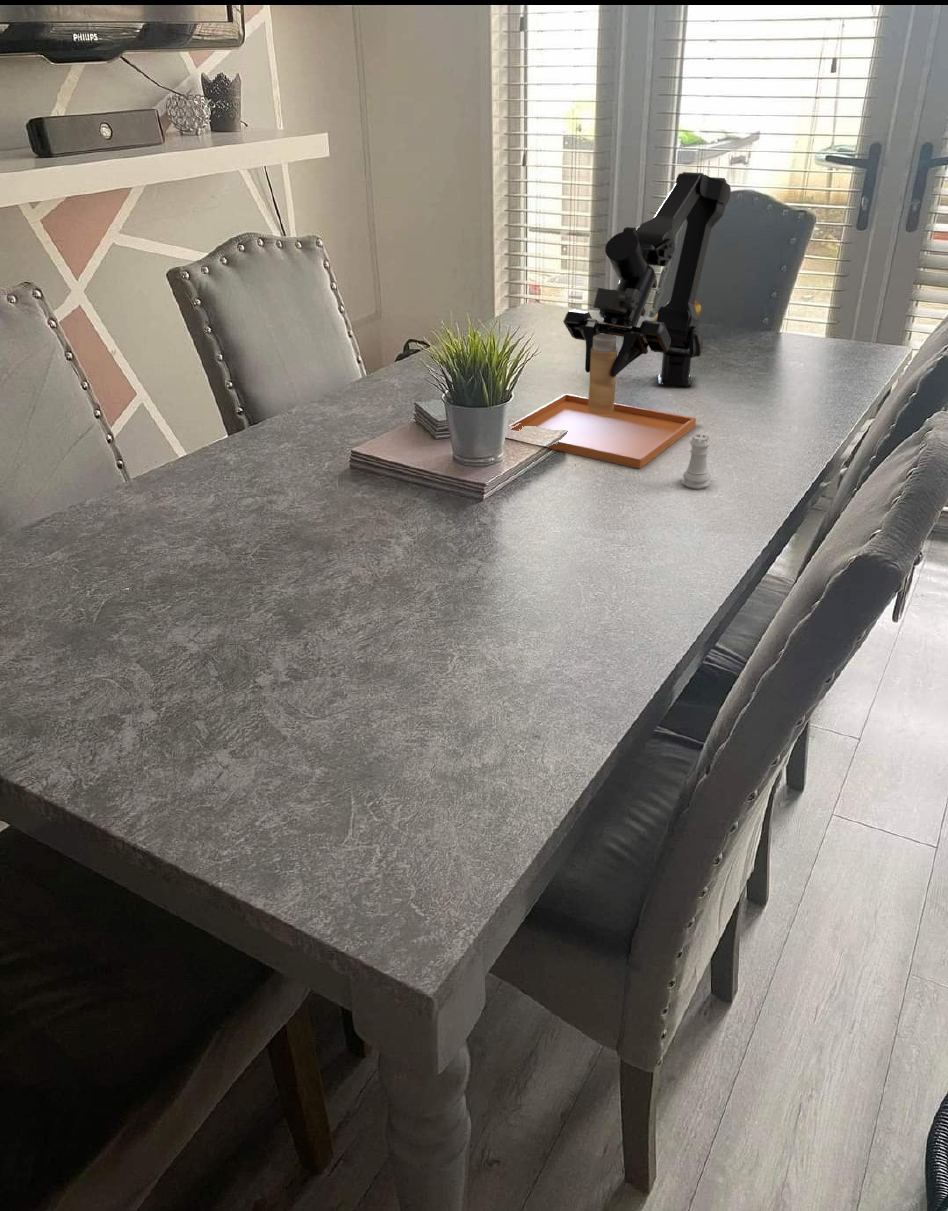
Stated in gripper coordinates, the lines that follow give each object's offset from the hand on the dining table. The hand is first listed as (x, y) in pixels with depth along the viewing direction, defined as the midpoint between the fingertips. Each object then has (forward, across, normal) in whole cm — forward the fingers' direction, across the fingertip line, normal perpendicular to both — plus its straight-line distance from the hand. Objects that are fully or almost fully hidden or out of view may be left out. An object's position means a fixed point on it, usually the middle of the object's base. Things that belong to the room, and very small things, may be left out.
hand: (599, 373), depth 167 cm
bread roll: (-41, -14, +52) cm, 67 cm away
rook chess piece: (+16, +24, 0) cm, 29 cm away
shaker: (+4, 0, +6) cm, 7 cm away
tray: (+7, 0, +9) cm, 11 cm away
